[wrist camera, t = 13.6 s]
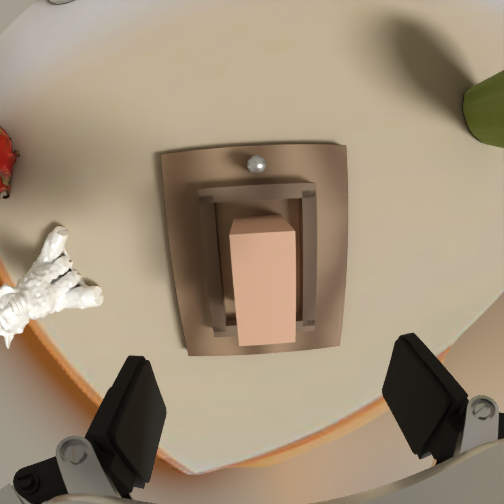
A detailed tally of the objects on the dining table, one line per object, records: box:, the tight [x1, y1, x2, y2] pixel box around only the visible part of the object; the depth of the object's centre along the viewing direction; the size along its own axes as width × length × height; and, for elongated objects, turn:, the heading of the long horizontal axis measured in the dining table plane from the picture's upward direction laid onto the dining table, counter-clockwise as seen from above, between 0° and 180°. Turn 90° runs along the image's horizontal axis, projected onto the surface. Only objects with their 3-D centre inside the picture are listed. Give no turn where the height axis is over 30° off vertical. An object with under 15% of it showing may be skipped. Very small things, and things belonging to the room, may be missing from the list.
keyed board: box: [161, 144, 348, 356], centre depth 24 cm, size 16×20×3 cm
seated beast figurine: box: [0, 226, 103, 349], centre depth 20 cm, size 10×9×12 cm
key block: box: [229, 215, 296, 346], centre depth 21 cm, size 8×4×7 cm, turn 3°
